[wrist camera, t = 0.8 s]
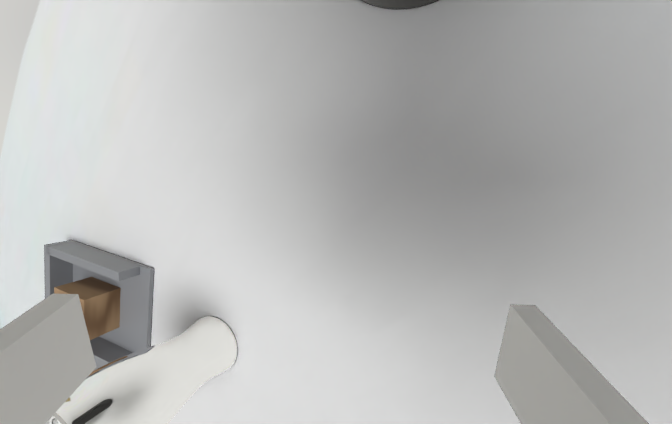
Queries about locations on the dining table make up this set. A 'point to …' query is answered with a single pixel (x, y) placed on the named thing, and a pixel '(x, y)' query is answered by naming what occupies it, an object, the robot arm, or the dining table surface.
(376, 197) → the dining table surface
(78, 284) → the walnut block
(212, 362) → the beer glass
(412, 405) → the dining table surface
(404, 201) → the dining table surface
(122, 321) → the tray
